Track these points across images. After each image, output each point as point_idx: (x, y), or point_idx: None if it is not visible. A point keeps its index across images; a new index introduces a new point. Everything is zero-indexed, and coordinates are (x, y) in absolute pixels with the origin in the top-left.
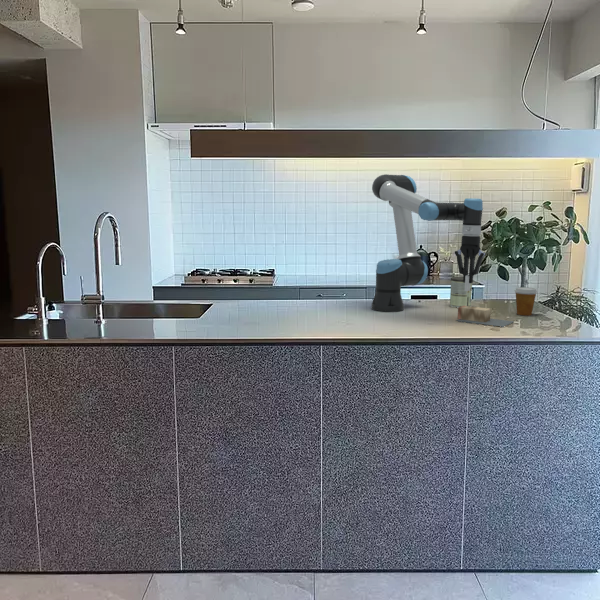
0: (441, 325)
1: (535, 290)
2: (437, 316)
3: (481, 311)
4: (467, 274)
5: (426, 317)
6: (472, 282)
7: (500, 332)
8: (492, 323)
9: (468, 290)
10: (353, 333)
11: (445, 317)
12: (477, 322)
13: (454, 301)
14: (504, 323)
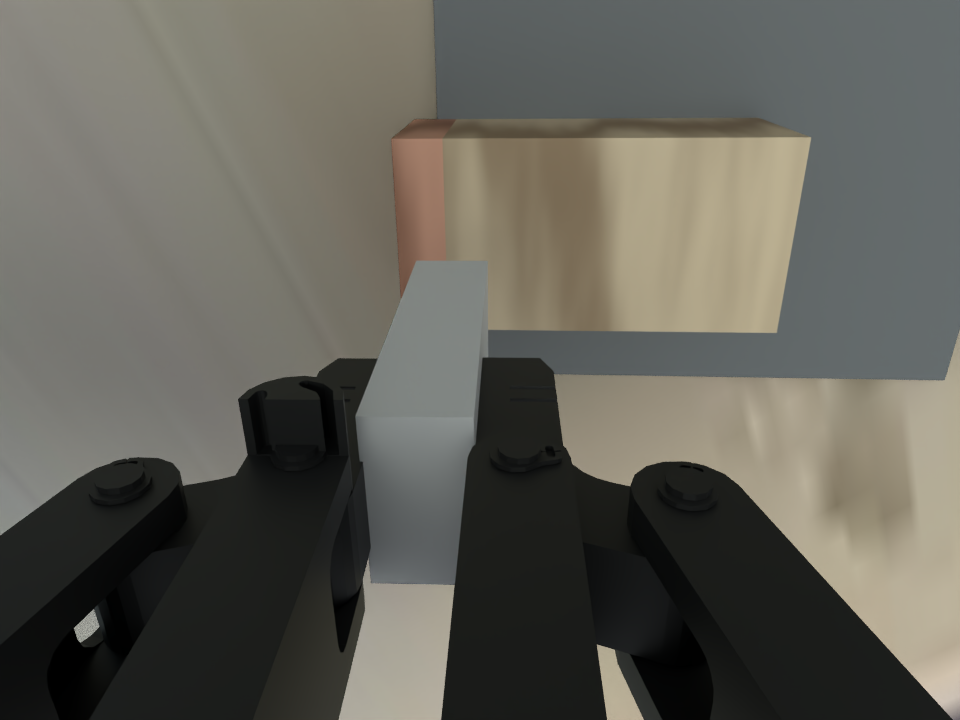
0: (425, 584)
1: None
2: (167, 227)
3: (713, 325)
4: (338, 425)
5: (127, 351)
6: (545, 367)
7: (927, 567)
8: (817, 293)
9: (487, 346)
10: None
11: (260, 227)
12: (662, 336)
13: None
14: (945, 209)
